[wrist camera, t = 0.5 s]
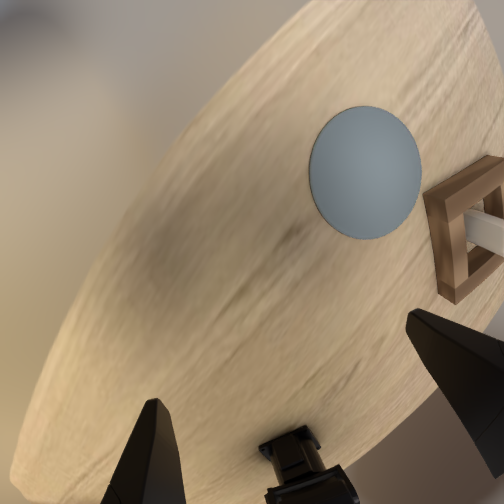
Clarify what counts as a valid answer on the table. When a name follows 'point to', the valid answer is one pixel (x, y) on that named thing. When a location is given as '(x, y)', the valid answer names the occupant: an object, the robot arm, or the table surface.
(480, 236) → the eye dropper bottle
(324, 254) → the table surface
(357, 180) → the slate-blue rubber mat
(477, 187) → the walnut socket block
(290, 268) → the table surface
